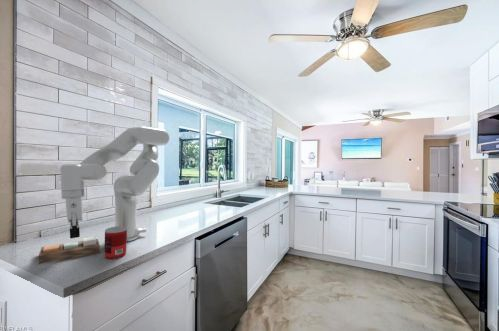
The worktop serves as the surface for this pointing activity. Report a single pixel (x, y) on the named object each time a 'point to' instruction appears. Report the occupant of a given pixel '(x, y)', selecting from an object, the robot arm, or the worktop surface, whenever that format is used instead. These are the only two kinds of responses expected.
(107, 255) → the canned food
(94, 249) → the key panel
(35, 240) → the worktop surface
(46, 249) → the terracotta key
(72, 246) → the sage key
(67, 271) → the worktop surface
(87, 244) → the ivory key
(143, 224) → the worktop surface
